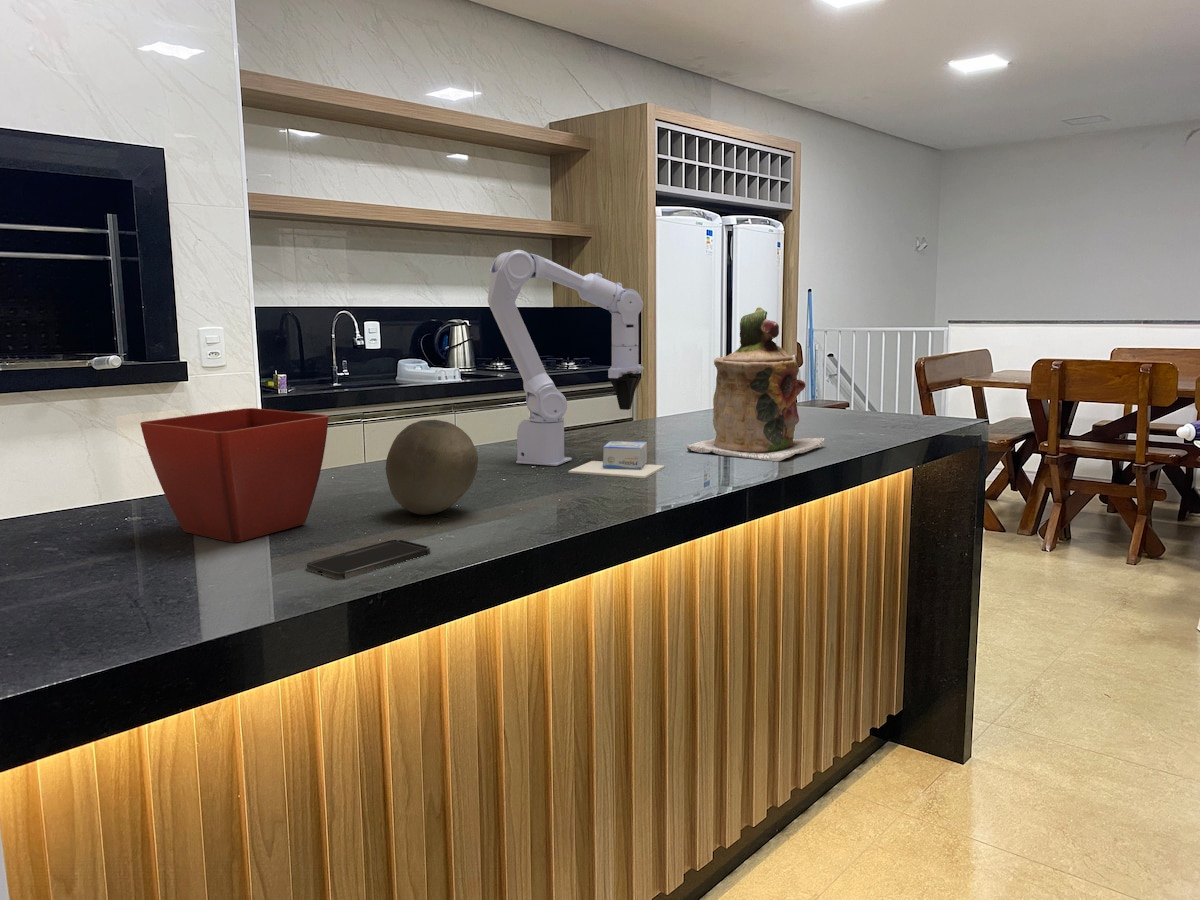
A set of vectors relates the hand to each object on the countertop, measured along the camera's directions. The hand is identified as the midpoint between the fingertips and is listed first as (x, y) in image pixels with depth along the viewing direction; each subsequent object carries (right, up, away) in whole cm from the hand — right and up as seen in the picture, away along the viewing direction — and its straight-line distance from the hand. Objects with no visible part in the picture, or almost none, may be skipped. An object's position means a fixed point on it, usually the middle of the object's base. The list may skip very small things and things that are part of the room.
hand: (625, 409), depth 193 cm
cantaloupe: (-32, -19, -49) cm, 62 cm away
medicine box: (0, -9, -7) cm, 11 cm away
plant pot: (-59, -21, -59) cm, 86 cm away
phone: (-36, -24, -75) cm, 87 cm away
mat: (-2, -13, -13) cm, 19 cm away
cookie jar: (+30, -9, +10) cm, 33 cm away
